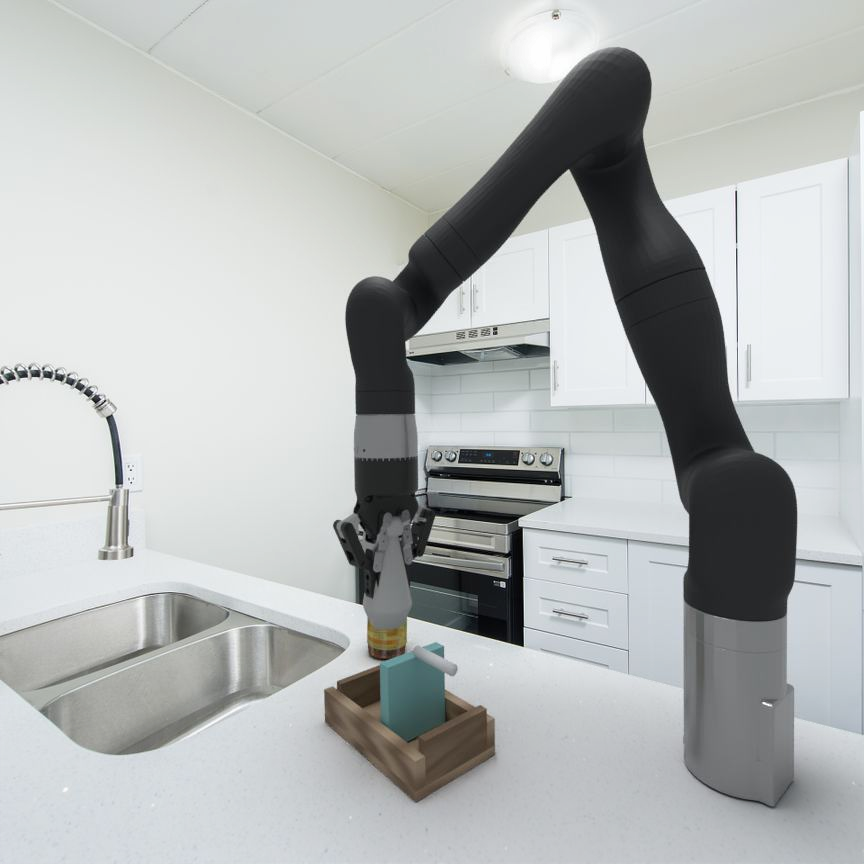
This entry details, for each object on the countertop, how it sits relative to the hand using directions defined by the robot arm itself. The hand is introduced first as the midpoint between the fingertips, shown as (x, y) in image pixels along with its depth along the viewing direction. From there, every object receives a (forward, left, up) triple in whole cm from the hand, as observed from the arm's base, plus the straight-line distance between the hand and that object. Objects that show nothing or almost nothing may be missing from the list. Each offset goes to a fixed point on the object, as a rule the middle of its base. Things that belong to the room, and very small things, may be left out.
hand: (388, 597), depth 63 cm
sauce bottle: (+16, -11, -16) cm, 25 cm away
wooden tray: (-3, 0, -16) cm, 16 cm away
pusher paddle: (-8, 0, -14) cm, 16 cm away
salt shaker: (0, 0, -3) cm, 3 cm away
